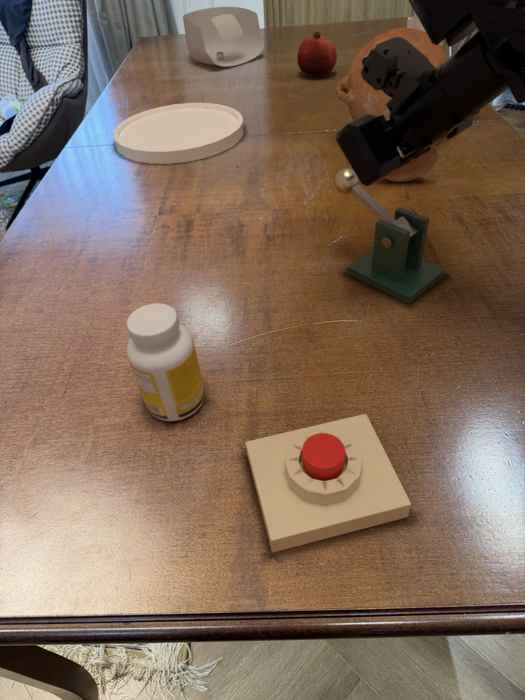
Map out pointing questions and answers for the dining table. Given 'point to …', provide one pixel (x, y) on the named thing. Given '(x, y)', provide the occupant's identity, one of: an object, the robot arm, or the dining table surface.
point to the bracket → (398, 260)
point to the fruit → (317, 55)
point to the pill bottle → (164, 362)
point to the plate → (178, 133)
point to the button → (323, 456)
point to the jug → (374, 101)
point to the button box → (324, 485)
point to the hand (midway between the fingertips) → (362, 166)
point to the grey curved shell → (223, 35)
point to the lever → (368, 199)
